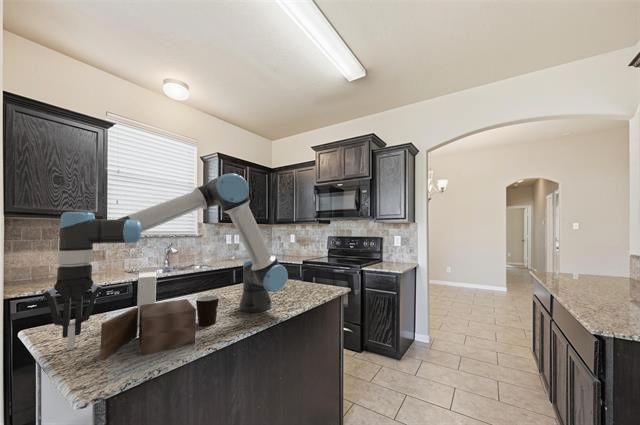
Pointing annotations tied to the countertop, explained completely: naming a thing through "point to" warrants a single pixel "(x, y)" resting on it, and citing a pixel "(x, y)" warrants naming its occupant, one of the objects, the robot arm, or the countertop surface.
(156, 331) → the cabinet
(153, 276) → the milk
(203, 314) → the coffee mug
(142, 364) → the countertop surface
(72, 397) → the countertop surface
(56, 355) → the countertop surface
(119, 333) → the door
